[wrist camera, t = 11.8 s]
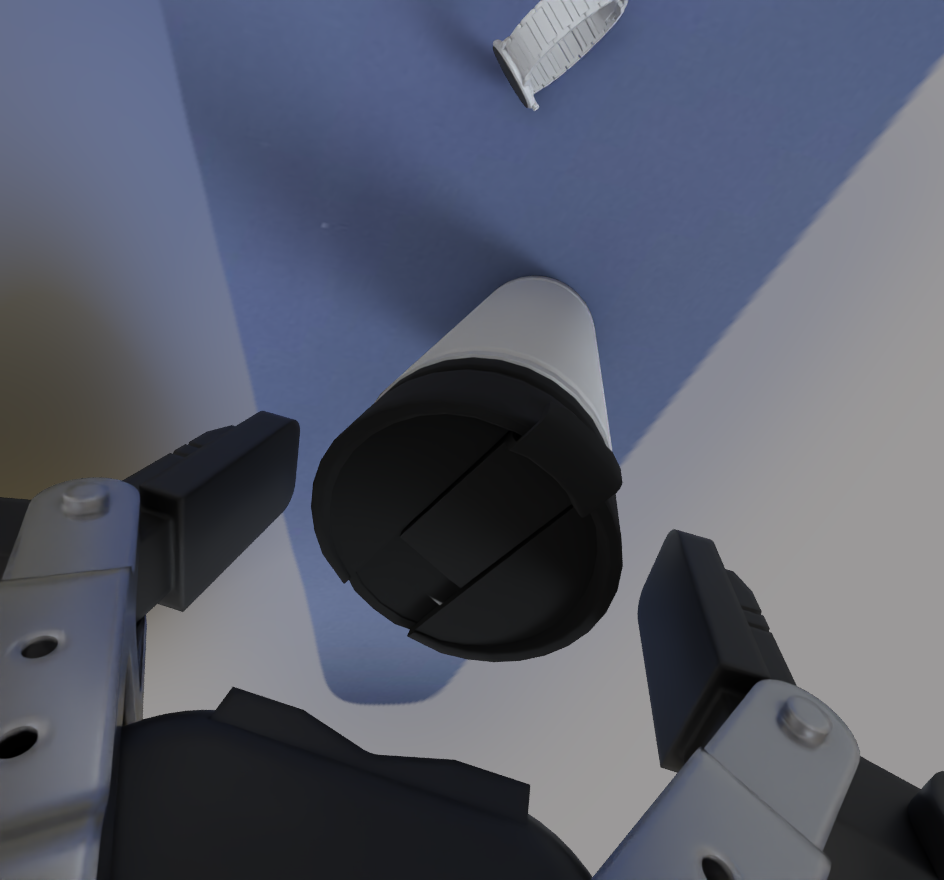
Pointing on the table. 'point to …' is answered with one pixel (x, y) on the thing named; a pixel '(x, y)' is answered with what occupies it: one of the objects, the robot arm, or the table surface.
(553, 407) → the travel mug
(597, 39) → the wristwatch
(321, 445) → the table surface
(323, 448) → the table surface
